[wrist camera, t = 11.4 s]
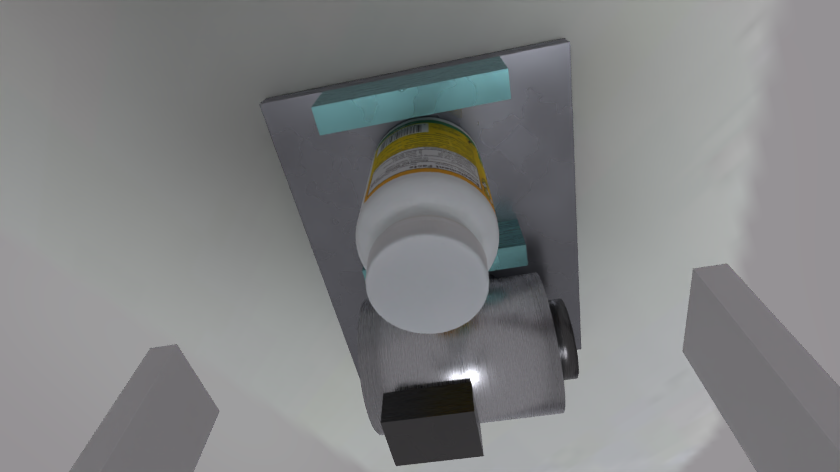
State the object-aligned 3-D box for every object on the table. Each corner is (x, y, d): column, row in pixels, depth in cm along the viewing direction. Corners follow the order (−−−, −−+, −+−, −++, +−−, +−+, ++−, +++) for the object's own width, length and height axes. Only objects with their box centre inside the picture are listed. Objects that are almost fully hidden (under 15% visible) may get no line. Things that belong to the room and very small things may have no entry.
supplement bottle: (394, 96, 22) (375, 187, 14) (501, 139, 23) (543, 247, 15) (357, 196, 24) (323, 322, 16) (455, 230, 25) (469, 366, 17)
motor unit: (265, 98, 23) (177, 181, 15) (564, 38, 21) (649, 93, 13) (361, 367, 32) (339, 510, 24) (576, 337, 30) (632, 480, 22)
